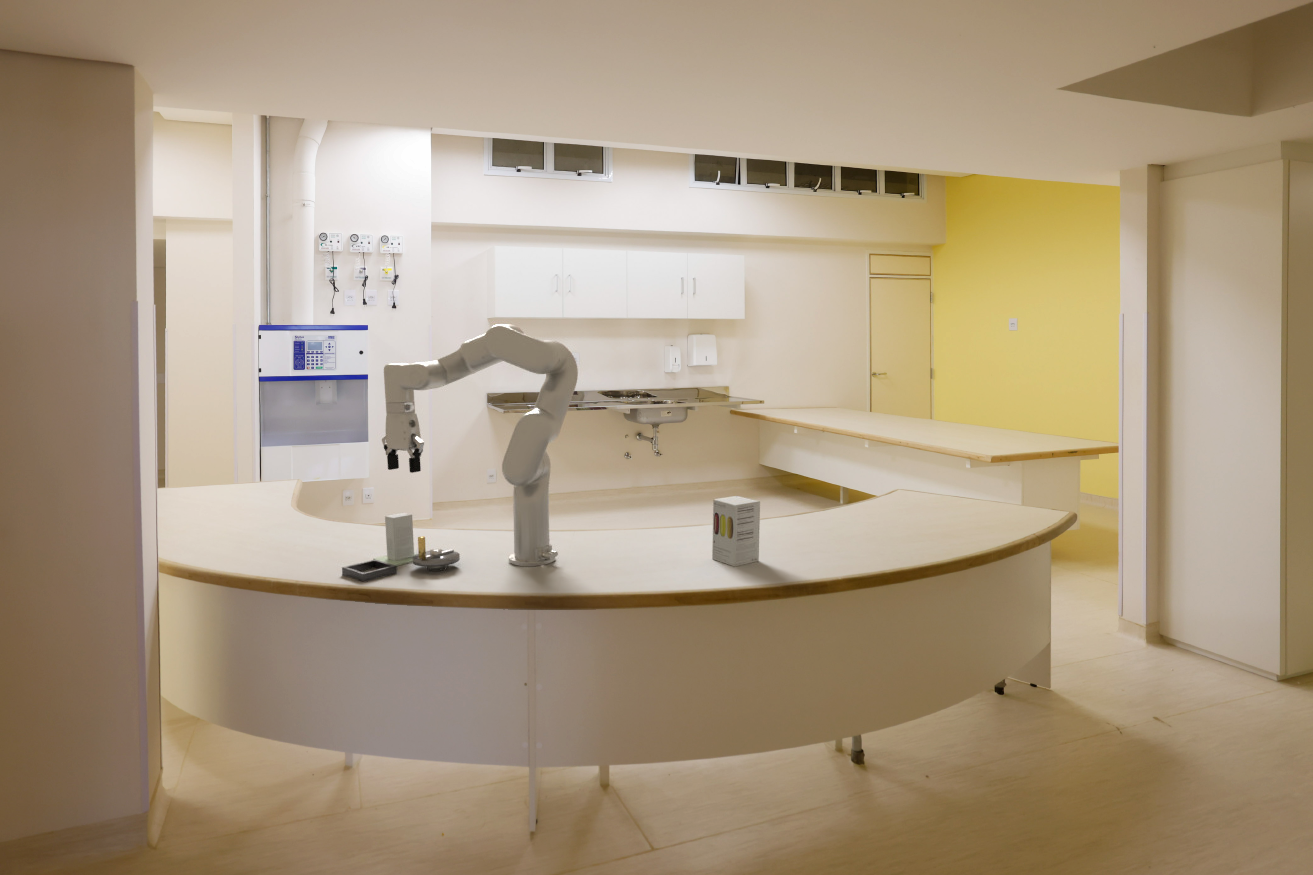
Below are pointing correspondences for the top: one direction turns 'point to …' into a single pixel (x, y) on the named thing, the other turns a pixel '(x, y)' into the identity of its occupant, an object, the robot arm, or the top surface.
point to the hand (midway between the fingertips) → (404, 470)
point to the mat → (397, 563)
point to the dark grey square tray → (381, 571)
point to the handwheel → (434, 556)
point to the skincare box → (399, 536)
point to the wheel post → (436, 568)
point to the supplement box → (736, 530)
